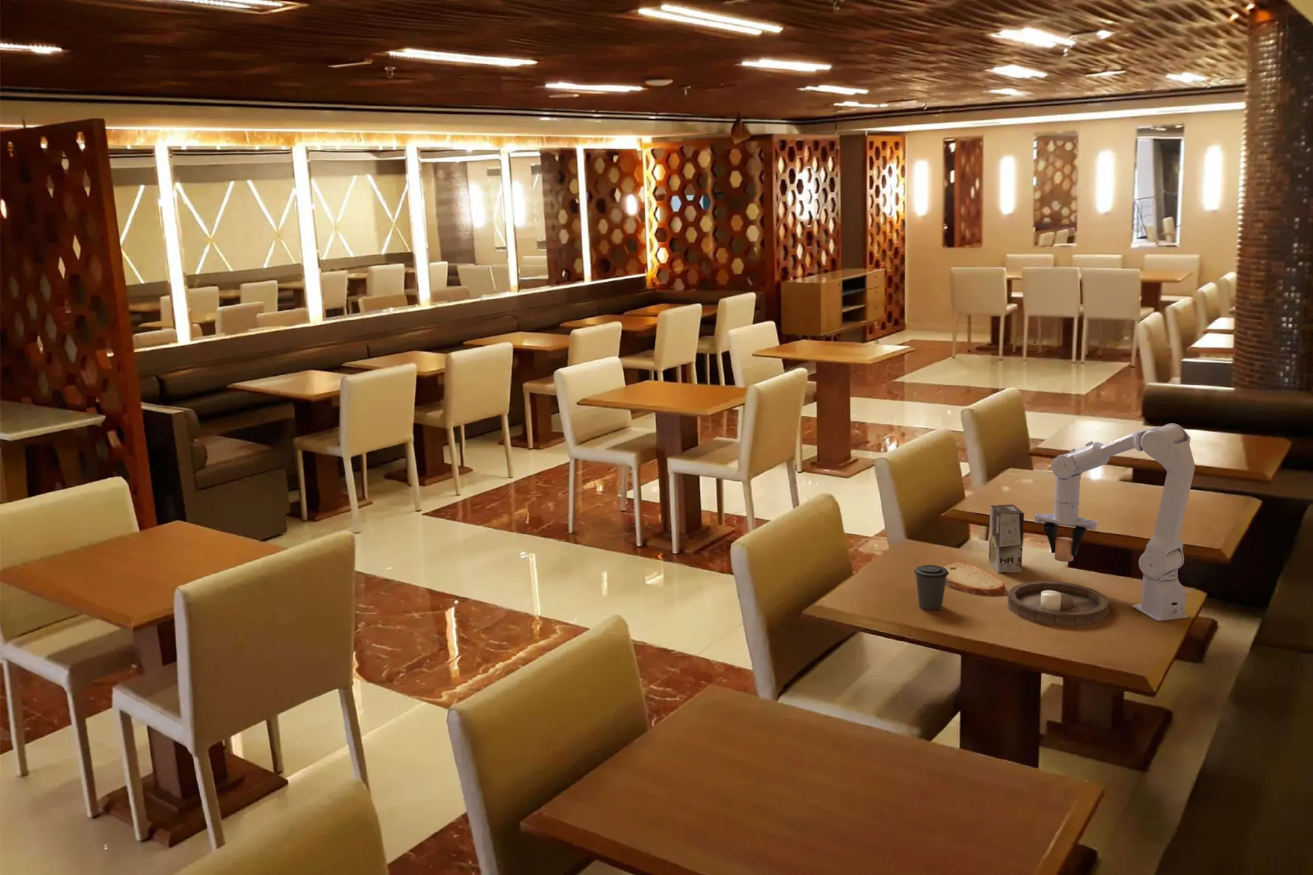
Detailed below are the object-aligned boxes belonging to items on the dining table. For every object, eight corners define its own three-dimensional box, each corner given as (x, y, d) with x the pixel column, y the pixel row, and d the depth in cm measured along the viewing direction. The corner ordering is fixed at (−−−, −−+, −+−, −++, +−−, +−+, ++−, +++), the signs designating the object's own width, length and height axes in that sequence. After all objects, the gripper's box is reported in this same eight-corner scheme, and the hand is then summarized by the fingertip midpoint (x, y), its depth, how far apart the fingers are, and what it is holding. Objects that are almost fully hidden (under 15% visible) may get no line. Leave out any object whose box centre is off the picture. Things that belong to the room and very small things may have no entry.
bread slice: (1007, 598, 261) (1008, 584, 260) (932, 593, 266) (932, 579, 265) (1005, 574, 278) (1005, 560, 277) (934, 569, 283) (934, 556, 282)
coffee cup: (948, 613, 252) (950, 573, 250) (913, 612, 253) (914, 572, 251) (946, 601, 259) (947, 562, 257) (912, 600, 261) (913, 561, 259)
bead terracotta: (1076, 560, 265) (1077, 541, 264) (1060, 562, 264) (1061, 543, 263) (1066, 555, 269) (1067, 536, 268) (1050, 557, 268) (1051, 538, 267)
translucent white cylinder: (1048, 618, 245) (1049, 598, 244) (1036, 612, 249) (1037, 591, 248) (1064, 615, 246) (1065, 595, 245) (1051, 609, 250) (1052, 589, 249)
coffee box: (1022, 572, 278) (1025, 513, 274) (997, 573, 278) (999, 513, 274) (1011, 561, 287) (1014, 503, 283) (987, 561, 287) (989, 504, 283)
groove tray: (1127, 620, 244) (1127, 609, 244) (1039, 630, 240) (1040, 618, 240) (1072, 588, 265) (1073, 577, 265) (991, 596, 261) (991, 586, 261)
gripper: (1101, 500, 262) (1098, 553, 265) (1040, 493, 270) (1038, 544, 273) (1094, 507, 257) (1091, 561, 260) (1033, 500, 265) (1031, 552, 268)
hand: (1064, 553), depth 266 cm, fingers closed on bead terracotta, 4 cm apart
